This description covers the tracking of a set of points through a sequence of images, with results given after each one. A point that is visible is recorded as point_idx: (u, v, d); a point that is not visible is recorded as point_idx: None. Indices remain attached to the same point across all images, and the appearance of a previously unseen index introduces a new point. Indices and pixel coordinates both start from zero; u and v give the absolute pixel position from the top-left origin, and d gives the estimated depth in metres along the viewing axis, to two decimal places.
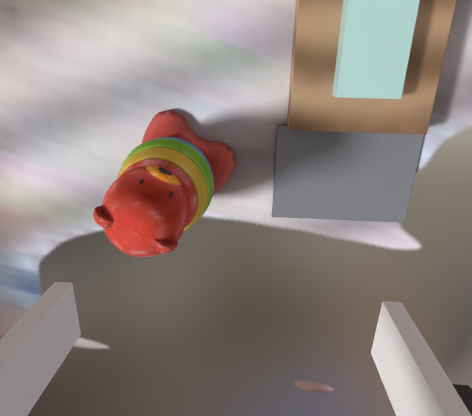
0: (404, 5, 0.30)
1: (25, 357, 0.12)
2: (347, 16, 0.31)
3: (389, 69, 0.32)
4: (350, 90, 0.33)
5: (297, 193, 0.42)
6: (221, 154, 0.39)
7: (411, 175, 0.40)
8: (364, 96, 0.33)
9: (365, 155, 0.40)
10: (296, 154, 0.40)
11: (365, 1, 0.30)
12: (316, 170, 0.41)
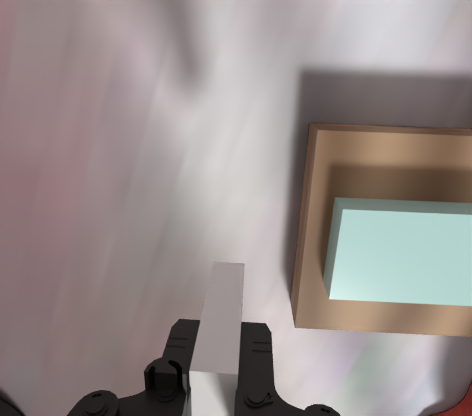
0: (363, 229, 0.20)
1: None
2: (365, 299, 0.22)
3: (452, 239, 0.20)
4: (470, 289, 0.21)
5: None
6: None
7: None
8: None
9: None
10: None
11: (350, 279, 0.21)
12: None
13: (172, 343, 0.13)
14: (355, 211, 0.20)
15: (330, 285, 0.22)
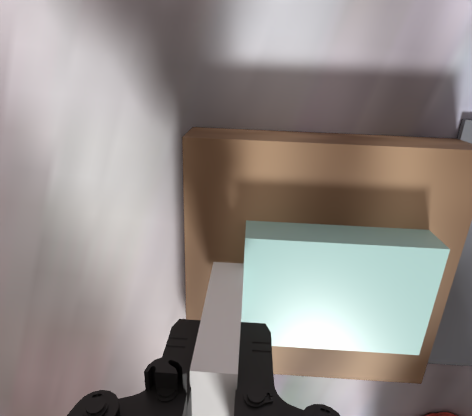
0: (272, 263, 0.16)
1: None
2: (284, 345, 0.18)
3: (384, 276, 0.16)
4: (411, 335, 0.17)
5: None
6: None
7: None
8: (428, 312, 0.17)
9: None
10: (456, 337, 0.23)
11: (262, 321, 0.17)
12: None
13: (172, 343, 0.13)
14: (261, 240, 0.16)
15: None
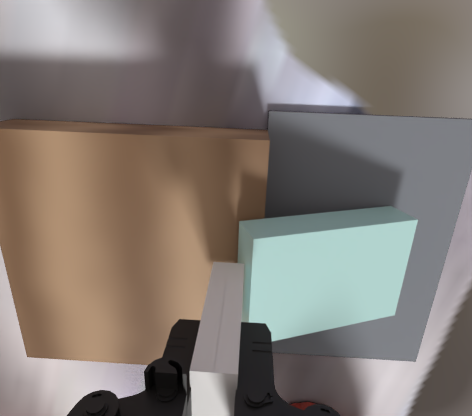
0: (279, 259, 0.16)
1: None
2: (288, 336, 0.18)
3: (371, 252, 0.18)
4: (389, 299, 0.20)
5: (376, 325, 0.23)
6: None
7: (367, 123, 0.18)
8: (401, 277, 0.19)
9: None
10: None
11: (269, 319, 0.17)
12: None
13: (172, 343, 0.13)
14: (268, 238, 0.16)
15: None
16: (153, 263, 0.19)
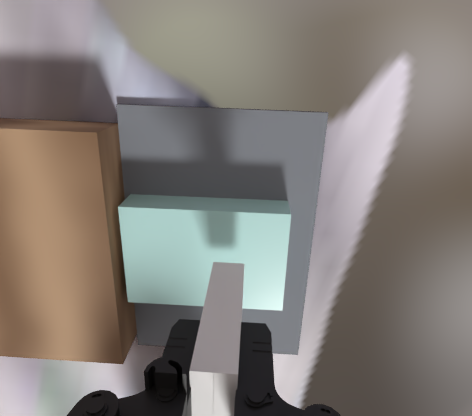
0: (144, 228, 0.19)
1: None
2: (165, 302, 0.20)
3: (240, 239, 0.19)
4: (272, 292, 0.20)
5: (253, 318, 0.23)
6: None
7: (213, 116, 0.18)
8: (283, 271, 0.19)
9: None
10: None
11: (144, 281, 0.20)
12: None
13: (172, 343, 0.13)
14: (132, 208, 0.18)
15: (127, 287, 0.20)
16: (6, 255, 0.19)
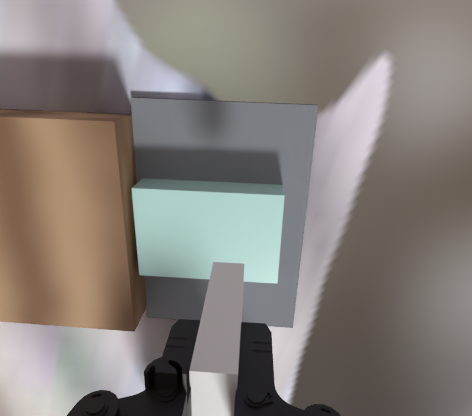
0: (154, 208, 0.21)
1: None
2: (173, 275, 0.23)
3: (239, 217, 0.21)
4: (268, 266, 0.22)
5: (252, 293, 0.25)
6: None
7: (216, 108, 0.21)
8: (277, 247, 0.22)
9: None
10: (187, 294, 0.26)
11: (154, 256, 0.22)
12: None
13: (172, 343, 0.13)
14: (143, 190, 0.21)
15: None
16: (33, 231, 0.21)
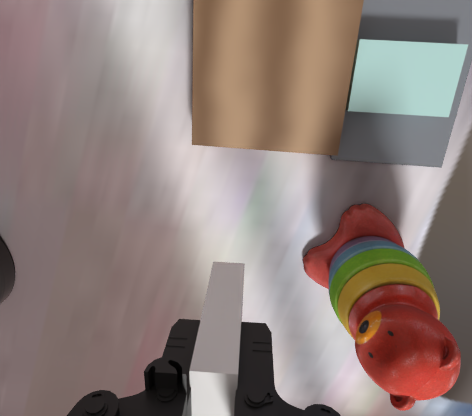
0: (372, 55, 0.31)
1: None
2: (372, 111, 0.32)
3: (432, 62, 0.30)
4: (444, 102, 0.31)
5: (416, 137, 0.35)
6: (354, 221, 0.37)
7: None
8: (455, 87, 0.31)
9: None
10: (366, 139, 0.35)
11: (362, 95, 0.32)
12: (391, 114, 0.34)
13: (172, 343, 0.13)
14: (368, 40, 0.30)
15: (349, 100, 0.32)
16: (285, 71, 0.31)
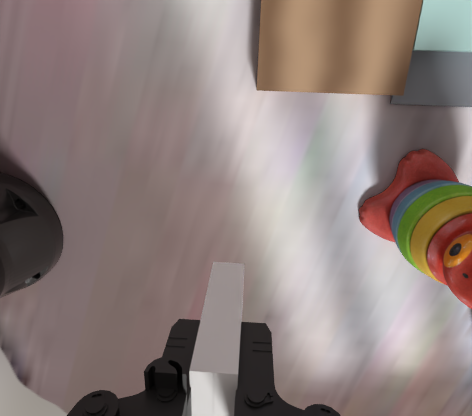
0: None
1: None
2: (438, 49, 0.33)
3: None
4: None
5: None
6: (414, 165, 0.37)
7: None
8: None
9: None
10: (427, 81, 0.35)
11: (429, 32, 0.32)
12: (452, 54, 0.34)
13: (172, 343, 0.13)
14: None
15: (415, 39, 0.32)
16: (354, 8, 0.31)
